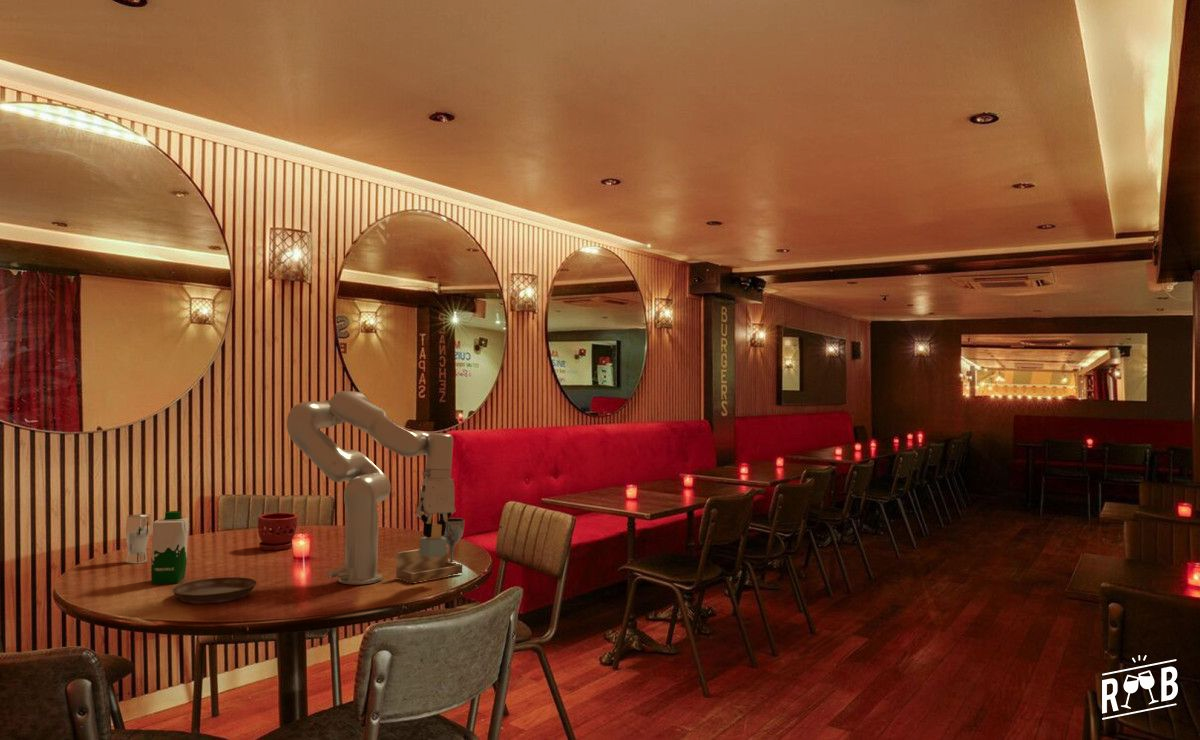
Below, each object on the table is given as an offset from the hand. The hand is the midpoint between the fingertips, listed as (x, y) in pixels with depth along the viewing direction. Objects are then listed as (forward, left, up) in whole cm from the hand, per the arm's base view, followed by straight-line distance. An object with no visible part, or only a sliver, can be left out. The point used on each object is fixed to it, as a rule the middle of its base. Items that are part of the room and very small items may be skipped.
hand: (433, 535), depth 224 cm
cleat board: (+5, +8, -14) cm, 17 cm away
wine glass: (+20, +18, -15) cm, 31 cm away
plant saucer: (-51, +28, -15) cm, 61 cm away
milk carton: (-55, +54, -15) cm, 79 cm away
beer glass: (-54, +89, -15) cm, 106 cm away
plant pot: (-11, +82, -15) cm, 84 cm away
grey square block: (0, 0, -6) cm, 6 cm away
